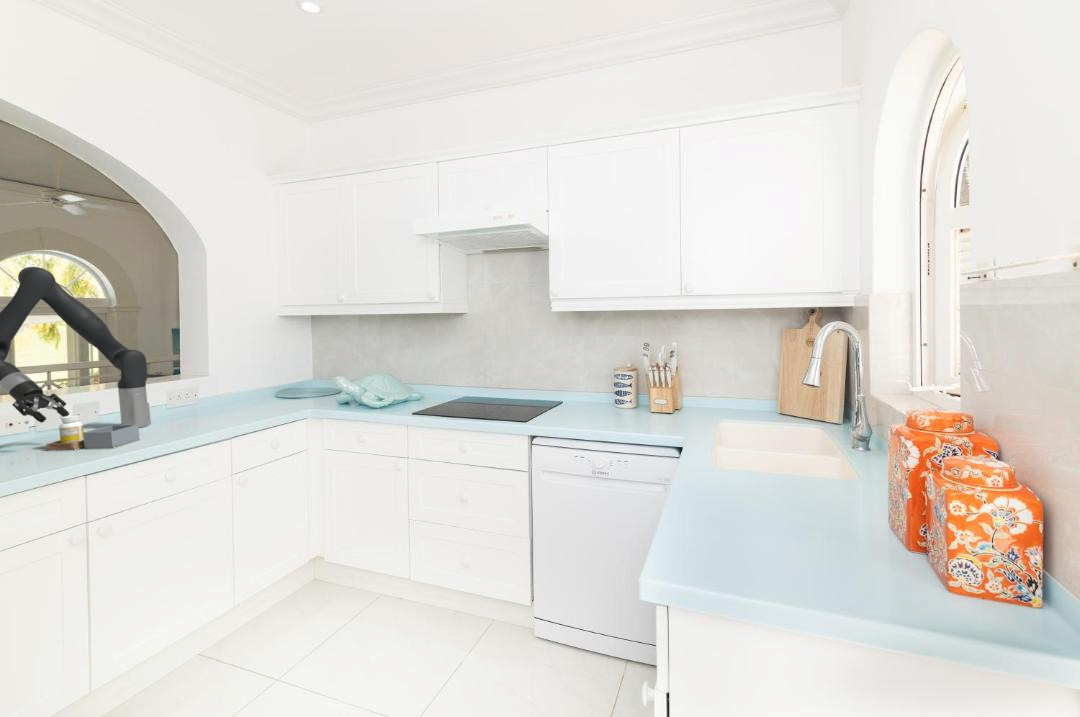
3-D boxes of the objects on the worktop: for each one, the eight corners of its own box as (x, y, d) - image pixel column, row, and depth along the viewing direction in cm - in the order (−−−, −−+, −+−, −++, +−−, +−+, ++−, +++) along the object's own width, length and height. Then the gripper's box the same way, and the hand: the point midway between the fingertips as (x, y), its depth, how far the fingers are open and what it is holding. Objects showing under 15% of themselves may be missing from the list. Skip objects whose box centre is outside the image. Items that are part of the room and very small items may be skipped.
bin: (113, 440, 190) (112, 425, 189) (139, 440, 190) (138, 424, 189) (84, 449, 178) (83, 432, 177) (112, 448, 178) (111, 432, 177)
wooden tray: (72, 443, 186) (71, 437, 186) (98, 443, 186) (97, 436, 186) (47, 450, 176) (46, 444, 176) (74, 450, 176) (73, 443, 176)
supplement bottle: (73, 449, 178) (70, 418, 177) (56, 449, 178) (52, 418, 177) (89, 444, 184) (86, 414, 183) (72, 444, 184) (69, 414, 183)
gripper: (6, 382, 172) (42, 415, 173) (47, 377, 186) (80, 407, 187) (-8, 398, 172) (29, 430, 173) (34, 391, 186) (68, 421, 187)
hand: (55, 418), depth 180 cm, fingers open, 8 cm apart
